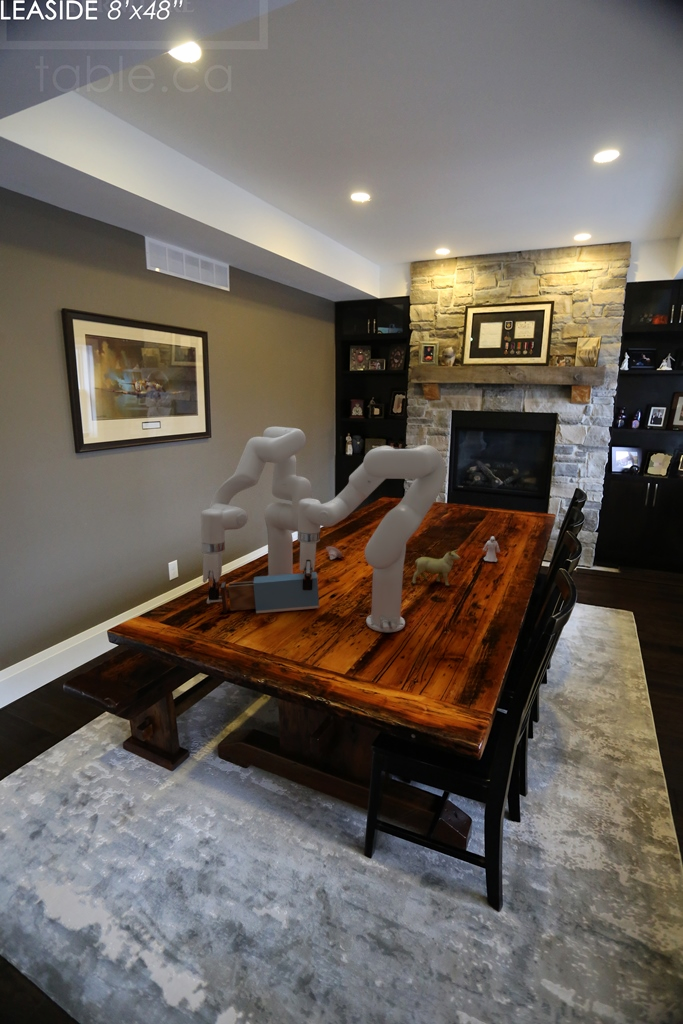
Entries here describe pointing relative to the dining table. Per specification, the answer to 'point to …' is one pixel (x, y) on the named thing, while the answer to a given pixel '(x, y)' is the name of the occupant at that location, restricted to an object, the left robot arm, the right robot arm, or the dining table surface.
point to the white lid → (333, 552)
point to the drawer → (237, 596)
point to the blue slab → (284, 593)
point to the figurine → (491, 550)
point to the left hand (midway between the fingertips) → (213, 598)
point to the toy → (435, 566)
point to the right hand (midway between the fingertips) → (307, 585)
